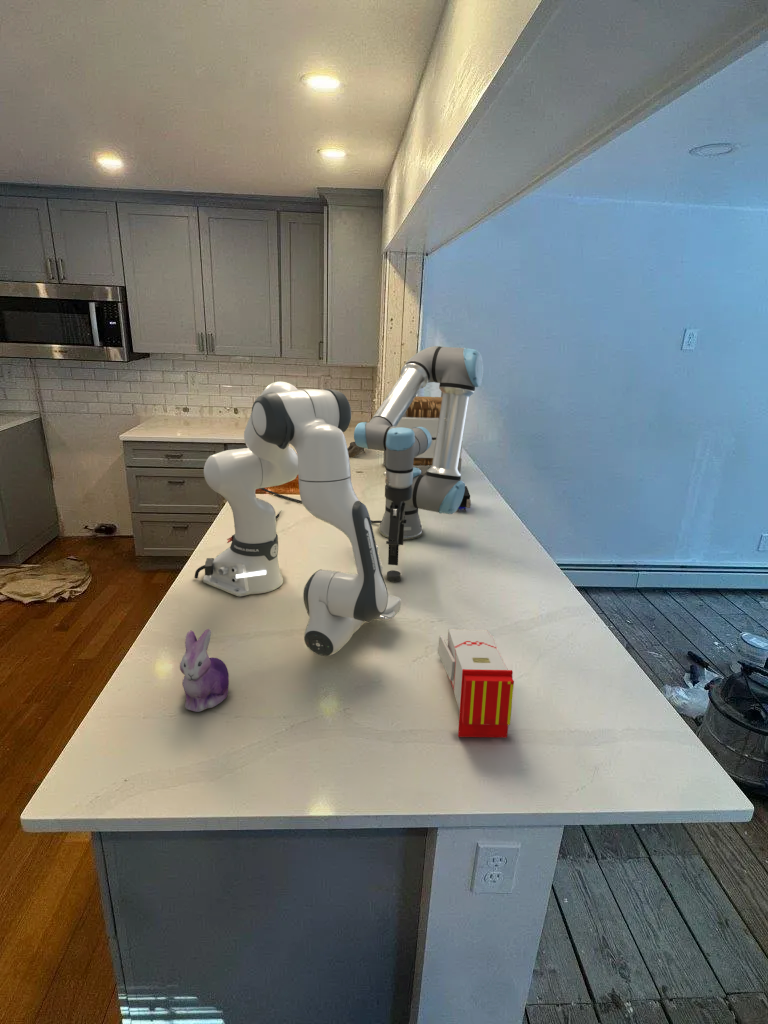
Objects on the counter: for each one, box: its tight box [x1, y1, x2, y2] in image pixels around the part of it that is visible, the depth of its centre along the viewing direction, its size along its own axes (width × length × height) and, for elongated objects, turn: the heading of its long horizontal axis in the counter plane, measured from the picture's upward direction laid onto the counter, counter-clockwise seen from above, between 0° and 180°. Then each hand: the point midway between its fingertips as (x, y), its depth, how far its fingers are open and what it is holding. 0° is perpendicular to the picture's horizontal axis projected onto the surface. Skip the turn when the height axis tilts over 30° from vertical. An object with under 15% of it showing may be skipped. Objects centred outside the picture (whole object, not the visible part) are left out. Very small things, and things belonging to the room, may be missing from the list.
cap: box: [386, 569, 402, 583], centre depth 166 cm, size 4×4×2 cm
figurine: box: [179, 628, 230, 713], centre depth 110 cm, size 9×10×15 cm
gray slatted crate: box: [383, 391, 465, 475], centre depth 268 cm, size 34×33×41 cm
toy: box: [437, 628, 515, 738], centre depth 117 cm, size 12×13×30 cm
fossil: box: [347, 441, 366, 458], centre depth 305 cm, size 22×10×15 cm
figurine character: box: [456, 485, 472, 513], centre depth 228 cm, size 7×8×15 cm
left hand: (372, 587), depth 148 cm, fingers closed on bottle, 5 cm apart
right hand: (395, 553), depth 164 cm, fingers open, 13 cm apart
